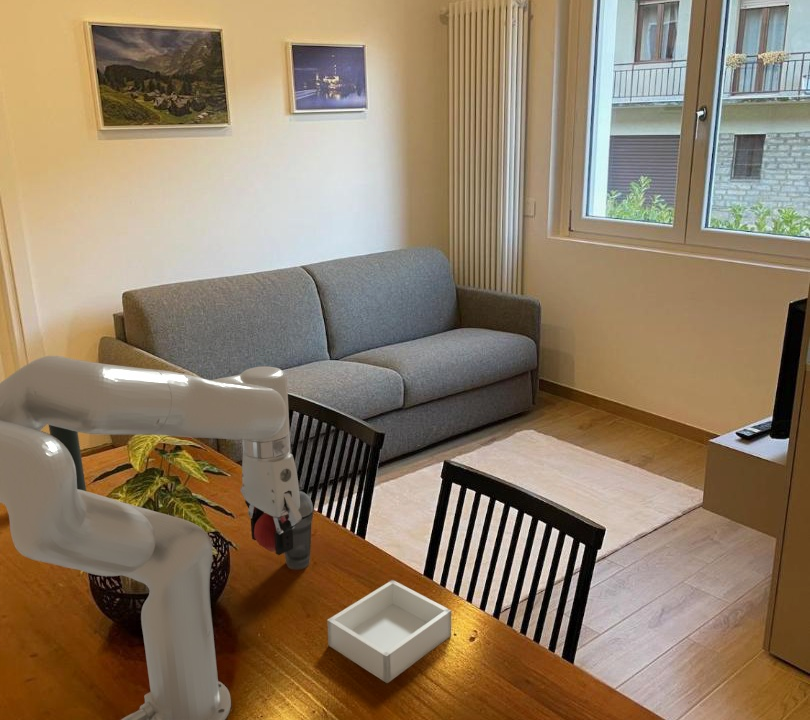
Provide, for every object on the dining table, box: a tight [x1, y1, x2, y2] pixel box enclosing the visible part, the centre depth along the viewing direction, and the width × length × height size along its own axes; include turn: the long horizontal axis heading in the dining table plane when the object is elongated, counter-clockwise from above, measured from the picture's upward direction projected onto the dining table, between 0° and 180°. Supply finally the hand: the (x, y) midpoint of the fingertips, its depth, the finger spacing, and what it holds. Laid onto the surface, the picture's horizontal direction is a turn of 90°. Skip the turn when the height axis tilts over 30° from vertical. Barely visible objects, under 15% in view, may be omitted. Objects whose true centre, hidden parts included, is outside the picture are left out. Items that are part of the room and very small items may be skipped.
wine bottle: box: [48, 425, 87, 491], centre depth 179 cm, size 6×6×30 cm
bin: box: [326, 579, 452, 684], centre depth 130 cm, size 16×14×5 cm
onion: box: [254, 512, 286, 552], centre depth 129 cm, size 6×6×8 cm
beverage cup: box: [281, 490, 315, 570], centre depth 151 cm, size 7×7×20 cm
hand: (272, 543), depth 130 cm, fingers closed on onion, 5 cm apart
